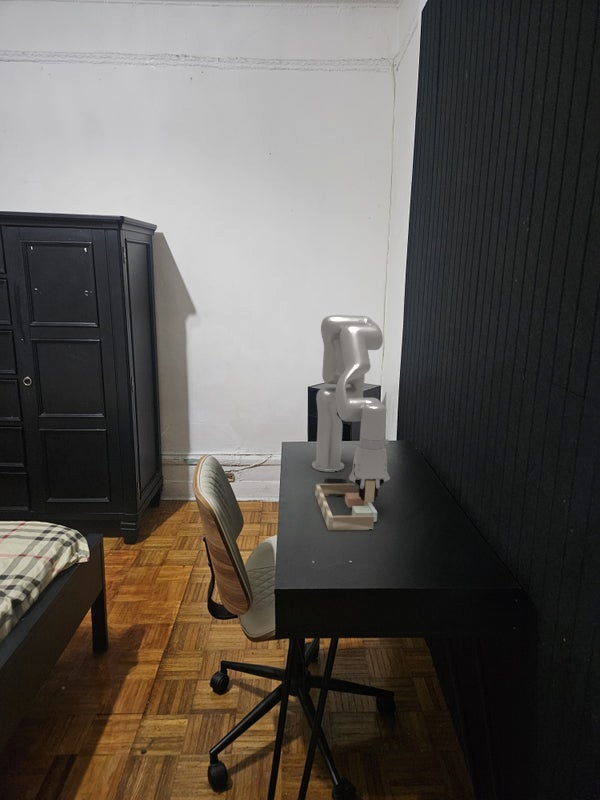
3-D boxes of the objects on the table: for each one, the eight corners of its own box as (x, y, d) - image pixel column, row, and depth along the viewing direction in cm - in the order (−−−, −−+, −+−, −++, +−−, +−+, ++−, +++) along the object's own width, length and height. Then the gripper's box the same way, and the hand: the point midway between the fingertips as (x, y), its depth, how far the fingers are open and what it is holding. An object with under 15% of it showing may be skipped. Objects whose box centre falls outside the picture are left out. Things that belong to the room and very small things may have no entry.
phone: (345, 479, 194) (348, 495, 179) (345, 482, 194) (348, 498, 180) (324, 478, 194) (325, 494, 180) (324, 481, 194) (325, 497, 180)
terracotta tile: (344, 501, 176) (345, 492, 176) (359, 501, 177) (359, 492, 176) (347, 507, 171) (348, 498, 171) (363, 507, 172) (363, 498, 171)
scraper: (356, 497, 178) (358, 469, 176) (364, 497, 178) (366, 469, 176) (369, 521, 160) (372, 490, 158) (379, 521, 161) (382, 490, 159)
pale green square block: (351, 515, 166) (352, 506, 165) (367, 514, 167) (368, 505, 166) (355, 522, 161) (356, 512, 161) (371, 521, 162) (372, 512, 161)
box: (315, 495, 180) (315, 483, 179) (353, 494, 182) (354, 483, 181) (328, 530, 155) (329, 517, 154) (373, 529, 156) (373, 516, 156)
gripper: (393, 439, 169) (389, 493, 173) (343, 439, 167) (340, 494, 171) (401, 446, 162) (396, 503, 166) (348, 446, 160) (345, 504, 164)
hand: (367, 498), depth 169 cm, fingers closed on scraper, 3 cm apart
